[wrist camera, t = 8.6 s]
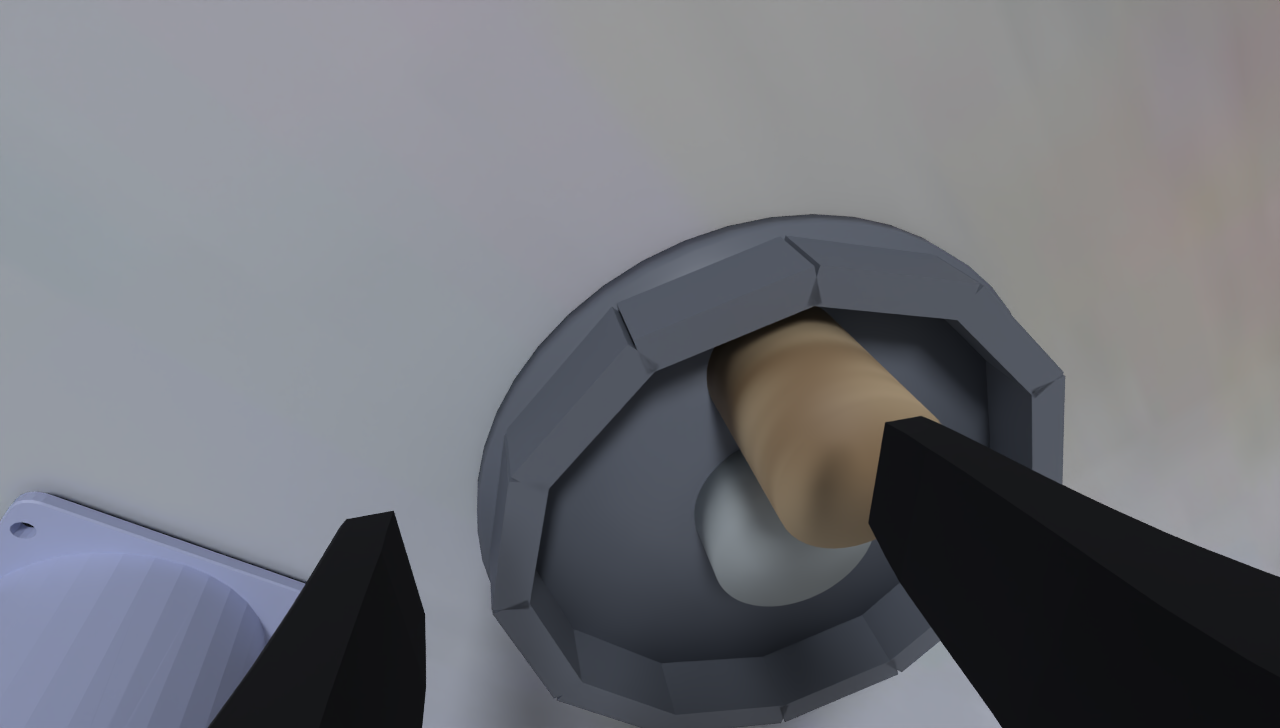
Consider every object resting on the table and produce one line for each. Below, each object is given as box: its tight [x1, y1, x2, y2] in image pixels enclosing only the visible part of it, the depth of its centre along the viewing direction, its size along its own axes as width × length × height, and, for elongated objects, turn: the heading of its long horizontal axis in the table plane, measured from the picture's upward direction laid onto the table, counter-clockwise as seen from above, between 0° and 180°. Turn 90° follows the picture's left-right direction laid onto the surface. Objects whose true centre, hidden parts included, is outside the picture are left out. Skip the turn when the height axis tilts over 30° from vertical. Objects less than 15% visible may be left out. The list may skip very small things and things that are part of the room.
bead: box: [707, 306, 941, 549], centre depth 17 cm, size 4×4×5 cm
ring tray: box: [477, 214, 1065, 728], centre depth 21 cm, size 18×18×3 cm
